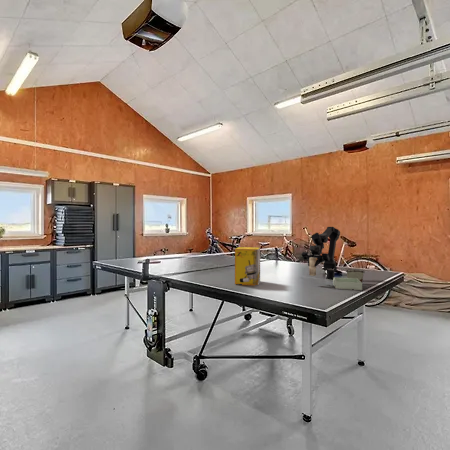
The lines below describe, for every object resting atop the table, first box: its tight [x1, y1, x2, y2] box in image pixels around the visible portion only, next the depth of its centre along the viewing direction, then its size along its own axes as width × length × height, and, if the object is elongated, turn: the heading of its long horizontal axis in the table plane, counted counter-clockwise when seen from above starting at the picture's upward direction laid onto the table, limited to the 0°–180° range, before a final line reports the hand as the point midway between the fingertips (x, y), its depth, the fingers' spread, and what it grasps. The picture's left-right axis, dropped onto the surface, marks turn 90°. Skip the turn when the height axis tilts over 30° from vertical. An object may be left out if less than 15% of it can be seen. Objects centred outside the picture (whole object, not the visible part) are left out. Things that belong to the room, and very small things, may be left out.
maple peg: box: [308, 257, 317, 277], centre depth 206 cm, size 4×4×12 cm
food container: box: [345, 268, 365, 284], centre depth 213 cm, size 12×6×10 cm, turn 74°
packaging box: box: [234, 246, 261, 286], centre depth 214 cm, size 16×16×25 cm
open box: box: [332, 277, 363, 291], centre depth 201 cm, size 16×16×4 cm
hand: (311, 265), depth 205 cm, fingers closed on maple peg, 4 cm apart
